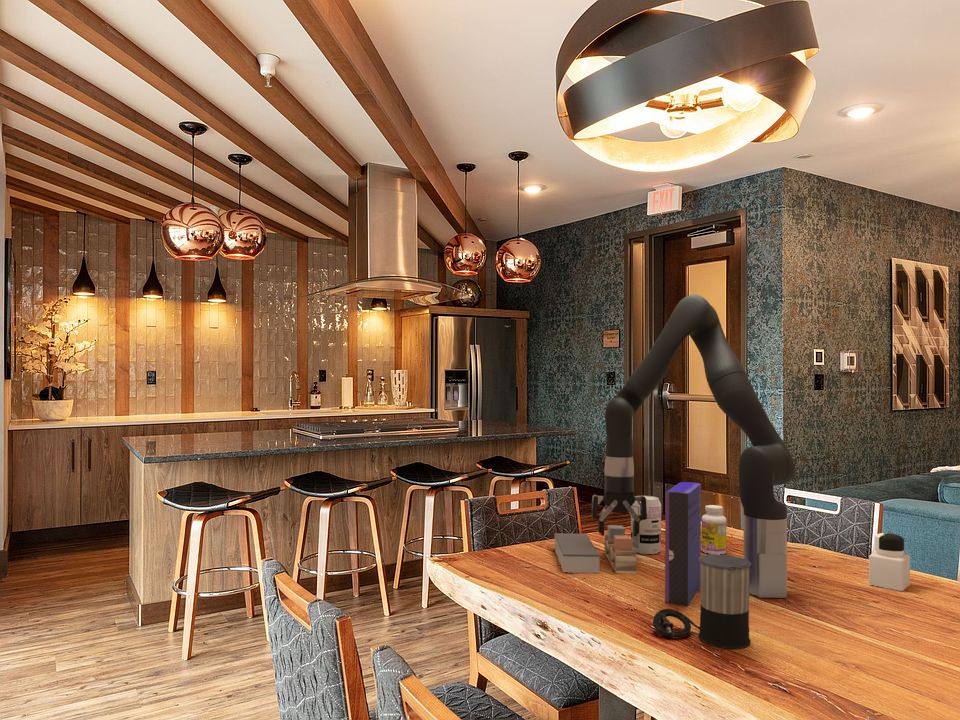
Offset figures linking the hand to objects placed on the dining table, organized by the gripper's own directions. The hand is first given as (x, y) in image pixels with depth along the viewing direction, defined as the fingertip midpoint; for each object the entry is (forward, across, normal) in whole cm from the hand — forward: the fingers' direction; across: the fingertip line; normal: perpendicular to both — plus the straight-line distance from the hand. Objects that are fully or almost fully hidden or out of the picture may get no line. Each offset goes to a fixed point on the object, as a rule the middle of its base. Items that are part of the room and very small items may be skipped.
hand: (618, 535), depth 186 cm
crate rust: (+3, 0, -6) cm, 7 cm away
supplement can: (+7, +10, +13) cm, 18 cm away
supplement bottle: (+7, +29, +13) cm, 32 cm away
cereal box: (+7, +10, -26) cm, 29 cm away
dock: (+7, -11, +2) cm, 13 cm away
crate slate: (+3, 0, +6) cm, 7 cm away
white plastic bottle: (+7, +61, -17) cm, 64 cm away
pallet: (+8, 0, 0) cm, 8 cm away
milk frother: (+7, +6, -53) cm, 54 cm away
